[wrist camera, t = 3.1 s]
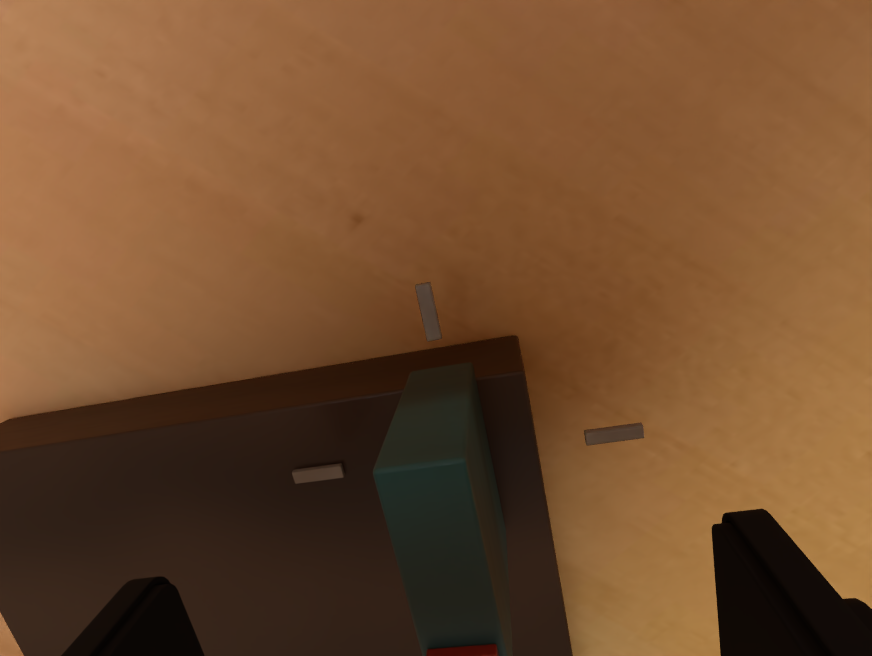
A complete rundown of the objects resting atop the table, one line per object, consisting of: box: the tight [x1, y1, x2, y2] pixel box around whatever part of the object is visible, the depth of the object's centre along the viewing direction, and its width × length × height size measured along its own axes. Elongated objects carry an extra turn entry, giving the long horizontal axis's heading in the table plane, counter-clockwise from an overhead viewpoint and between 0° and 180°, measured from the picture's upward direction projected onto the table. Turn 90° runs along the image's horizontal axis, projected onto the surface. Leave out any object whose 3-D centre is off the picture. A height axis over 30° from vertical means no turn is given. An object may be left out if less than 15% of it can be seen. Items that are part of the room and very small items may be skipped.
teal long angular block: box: [373, 362, 513, 656], centre depth 11 cm, size 5×2×5 cm, turn 12°
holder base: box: [0, 282, 644, 656], centre depth 17 cm, size 21×21×3 cm
